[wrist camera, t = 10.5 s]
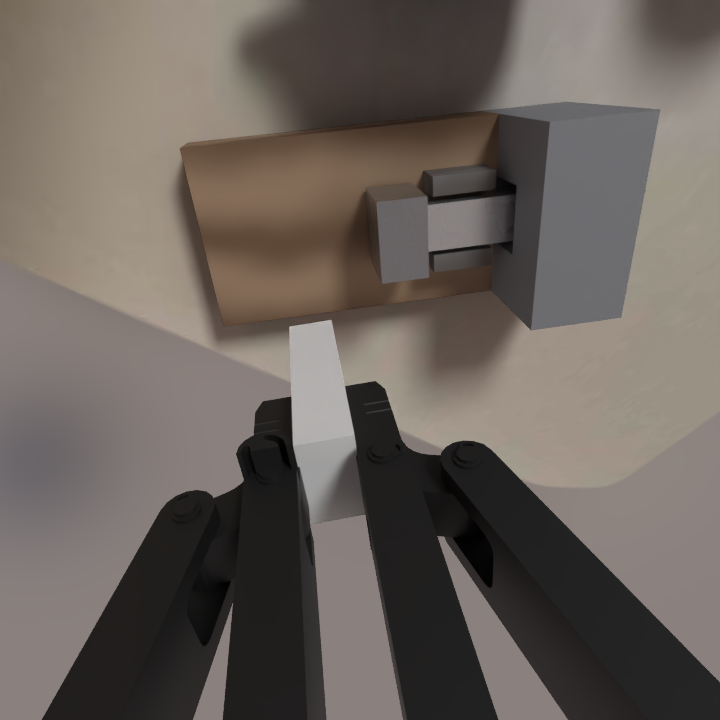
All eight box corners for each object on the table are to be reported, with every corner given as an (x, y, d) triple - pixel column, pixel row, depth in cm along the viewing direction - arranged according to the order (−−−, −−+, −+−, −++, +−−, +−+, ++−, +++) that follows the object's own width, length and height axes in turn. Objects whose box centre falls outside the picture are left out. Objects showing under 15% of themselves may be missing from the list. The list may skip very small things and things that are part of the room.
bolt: (365, 188, 33) (376, 202, 29) (556, 165, 34) (591, 176, 30) (371, 261, 35) (382, 283, 31) (549, 238, 36) (580, 257, 32)
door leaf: (187, 143, 33) (172, 153, 28) (483, 111, 35) (514, 116, 30) (227, 309, 39) (219, 341, 34) (477, 276, 41) (503, 302, 36)
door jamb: (483, 111, 35) (549, 121, 26) (566, 101, 35) (660, 109, 26) (477, 276, 41) (530, 330, 32) (549, 266, 41) (621, 317, 32)
